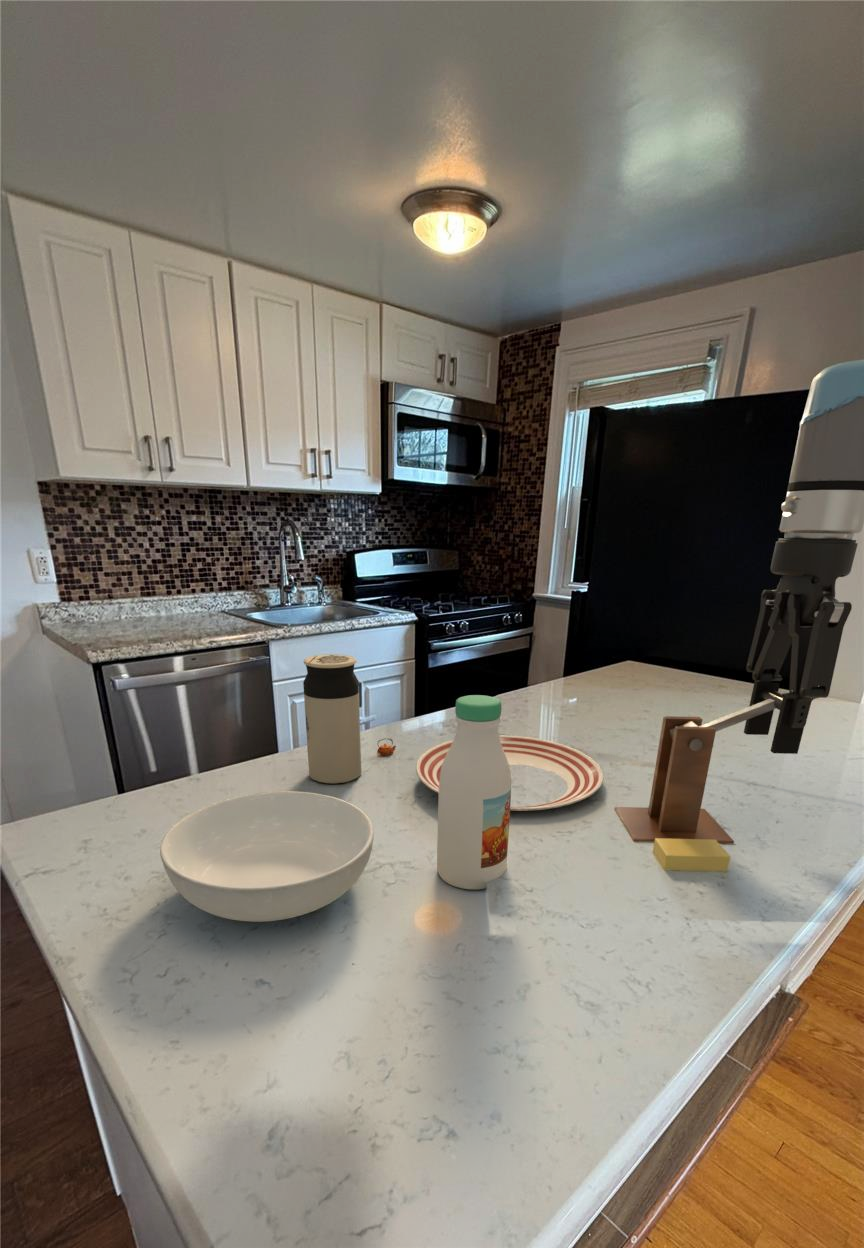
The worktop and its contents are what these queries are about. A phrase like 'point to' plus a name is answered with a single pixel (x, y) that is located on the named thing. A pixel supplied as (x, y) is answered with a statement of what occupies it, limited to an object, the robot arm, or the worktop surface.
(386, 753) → the teapot
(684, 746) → the brown lever stand
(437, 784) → the dinner plate
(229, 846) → the serving bowl
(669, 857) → the butter
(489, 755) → the milk bottle
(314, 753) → the travel mug
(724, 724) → the metal lever handle
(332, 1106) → the worktop surface
